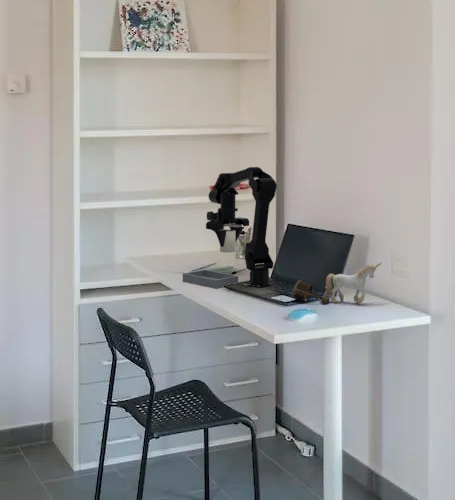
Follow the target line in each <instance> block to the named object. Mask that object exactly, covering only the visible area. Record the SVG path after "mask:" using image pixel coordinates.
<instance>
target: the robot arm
mask: <svg viewBox="0 0 455 500" xmlns="http://www.w3.org/2000/svg"><path fill="white" fill-rule="evenodd" d="M262 169H263V168H261V167H259V166H251V167H247V168H245V169H242V170H239V171H235V172H223V173H220V174H218V177H217V179H216V182H215V184H214V185H213V186H212V189H211V190H210V191H209V193H208V199H209V201H210V203H212V204H213V203H214V204H218V205H220V207H218V209H217V212H214V211H207V212H206V220H207V222H206V223H205V229H206V230H211V231H213V232H214V233H215V234H216V237H217V240H218V243H219V247H220V246H221V247H223V246H224V242H225V237H226V231H227V230H228V229H225V227H228V228H229V230H235V231H236V238H235V244H236V243H237V240H238V239H239V237H240V236H241V233H242V231H243V230H244V229H245V227H248V226H250V220H249V219H248V218H247V217H240V216H239V217H236V212H238V211H239V210H238V208H237V207H236V195H237V196H238V195H239V192H238V191H237V190H236V188H237V187H239V186H240V185H241V183H243V182H247V181H248V183H247V184H248V186H249V187H250V188H251V195H252V197H253V199H254V201H255V206H254V214H253V225H252V227H253V228H252V233H251V234H252V236H251V240H250V242H246V244H245V250H244V260H245V265H246V269H247V270H248V271H249V283H247V285H248V284H251V285H255V286H257V285H259V286H264V287H268V286H267V285H269V286H272V283H270V281H269V280H270V279H269V278H270V277H269V276H270V269H273V267H274V262H273V259H272V257H271V256H270V253H269V252H270V250H269V249H270V248H269V247H268V243H267V242H266V237H267V231H268V229H267V228H268V219H269V212H270V211H269V210H270V203H271V202H272V201H273V199H274V198H275V196H276V191H277V188H278V185H277V182H276V181H275V179H274V178H273V177H272V176H271V175H270V174H268V173H267V172H265V171H263V170H262ZM255 286H254V287H255Z"/></svg>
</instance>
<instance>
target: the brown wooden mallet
mask: <svg viewBox="0 0 455 500" xmlns="http://www.w3.org/2000/svg"><path fill="white" fill-rule="evenodd" d="M308 297H309V298H310V297H311V298H314V299H317V300H320V301H321V304H324V305H325V304H328V303H329V302H330V297H329V295H325V296H324V295H323V296H322V295H320V294H318V293H316V292H313V284H311V283H309V282H307V281H303V280H301V279H299V280H298V281H296V283H295V285H294V286H293V291H292V294H291V296H290V298H291V299H296V300H299V299H300V300H299V301H301V300H302V302H304V303H305V302H307V301H305V298H308Z"/></svg>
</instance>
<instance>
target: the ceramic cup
mask: <svg viewBox="0 0 455 500" xmlns="http://www.w3.org/2000/svg"><path fill="white" fill-rule="evenodd" d="M226 230H227V231H226V237H225V242H224V246H223V247H221V246H220V245H219V252H220V253H236V243H235V238H236V231H235V230H231V229H226Z"/></svg>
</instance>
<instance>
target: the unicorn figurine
mask: <svg viewBox="0 0 455 500" xmlns="http://www.w3.org/2000/svg"><path fill="white" fill-rule="evenodd" d="M382 263H383V262H380V263H377V264H376V265H373V264H372V263H370V264H367V265H365V266H362V267H361V268H359V269H358V270H356V272H355V273H354V274H351V275H347V274H344V273H338V274H334V273H329V274H327V276H326V279H325V286H324V288H325V292H324V293H323V294H322V295H323V297H324V296H330V295H331V297H330V301H331V302H334V304H339V303H340V302H339V301H341V302H343V301H344V296H345V295H344V294H343V292H342V291H341V288H342V287H344V288H347V289H352V290H353V289H356V291H355V295H354V296H353V302H356V303H357V304H358V306H360V305H362V303H363V301H365V297H366V292H365V290H364V287H365V285H366V282H367V281H366V279H367V277H368V278H369V279H373V278H374V277H375V275H374V274H375V271H376V270H377V268H378V267H379V266H381V264H382ZM368 275H369V276H368ZM336 292H337V293H338V297H339V300H338V299H337V298H336ZM360 293H361V296H359V294H360Z"/></svg>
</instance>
